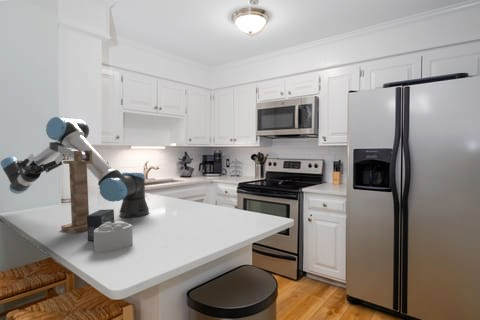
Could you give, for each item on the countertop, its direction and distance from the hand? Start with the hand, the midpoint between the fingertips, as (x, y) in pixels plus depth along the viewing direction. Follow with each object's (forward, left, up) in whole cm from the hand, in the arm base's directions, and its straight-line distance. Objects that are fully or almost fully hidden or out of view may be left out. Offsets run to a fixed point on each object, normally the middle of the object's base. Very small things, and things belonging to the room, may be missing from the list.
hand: (48, 155), depth 136 cm
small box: (-33, +27, -34) cm, 55 cm away
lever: (-13, +9, +1) cm, 16 cm away
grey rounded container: (-41, +39, -34) cm, 66 cm away
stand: (-19, +13, -33) cm, 41 cm away
